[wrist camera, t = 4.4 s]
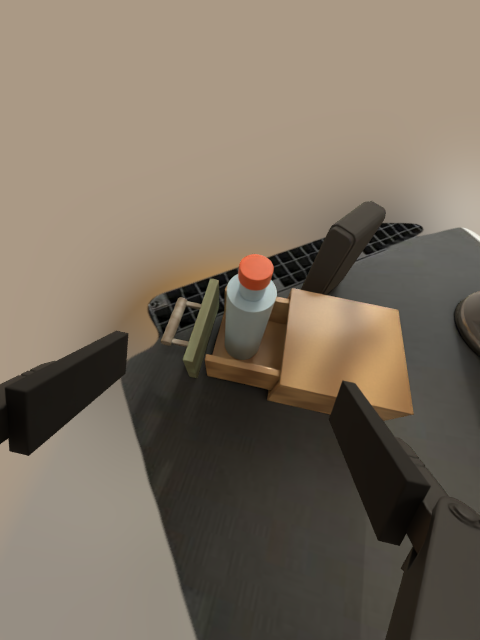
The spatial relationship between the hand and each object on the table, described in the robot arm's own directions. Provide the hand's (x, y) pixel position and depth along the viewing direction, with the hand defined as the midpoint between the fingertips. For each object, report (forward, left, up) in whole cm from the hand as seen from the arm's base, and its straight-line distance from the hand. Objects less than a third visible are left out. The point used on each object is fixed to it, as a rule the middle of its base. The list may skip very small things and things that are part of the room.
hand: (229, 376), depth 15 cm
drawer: (-9, -5, -19) cm, 22 cm away
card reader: (-28, +2, -20) cm, 34 cm away
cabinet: (-14, +8, -20) cm, 26 cm away
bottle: (-10, -3, -18) cm, 21 cm away
